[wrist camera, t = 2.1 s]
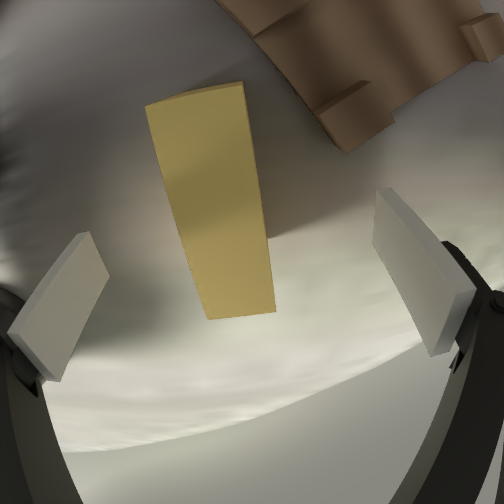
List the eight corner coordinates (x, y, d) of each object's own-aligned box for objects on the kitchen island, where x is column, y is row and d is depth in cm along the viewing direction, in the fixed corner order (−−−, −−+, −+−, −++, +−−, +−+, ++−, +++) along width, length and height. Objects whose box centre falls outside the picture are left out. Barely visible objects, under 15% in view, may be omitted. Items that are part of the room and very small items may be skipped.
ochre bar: (267, 238, 24) (276, 311, 17) (216, 245, 24) (207, 319, 17) (242, 80, 17) (241, 85, 10) (181, 92, 17) (144, 106, 11)
